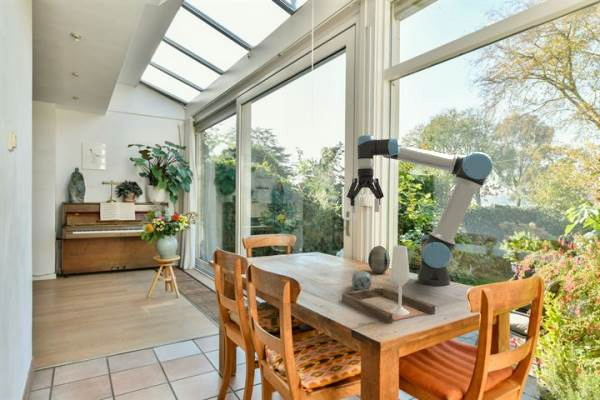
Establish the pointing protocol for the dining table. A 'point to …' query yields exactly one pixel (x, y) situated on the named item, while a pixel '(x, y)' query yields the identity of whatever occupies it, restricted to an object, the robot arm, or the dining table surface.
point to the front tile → (399, 317)
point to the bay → (376, 312)
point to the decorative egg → (379, 259)
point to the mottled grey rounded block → (361, 280)
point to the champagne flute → (400, 274)
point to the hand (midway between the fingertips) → (365, 212)
